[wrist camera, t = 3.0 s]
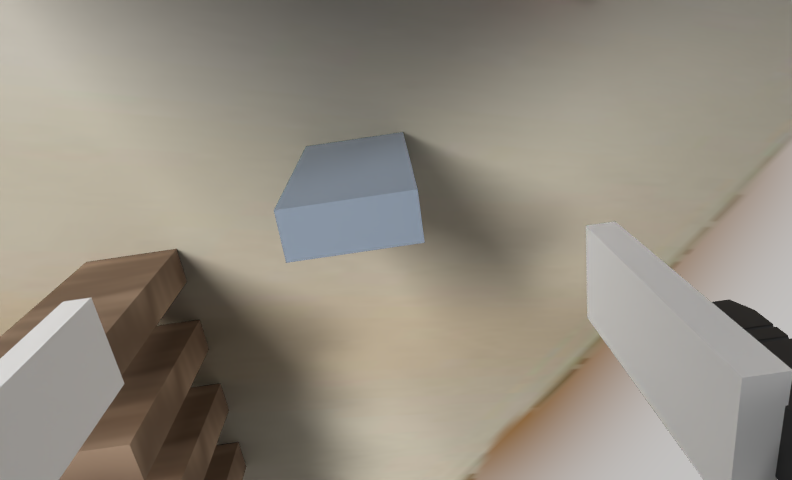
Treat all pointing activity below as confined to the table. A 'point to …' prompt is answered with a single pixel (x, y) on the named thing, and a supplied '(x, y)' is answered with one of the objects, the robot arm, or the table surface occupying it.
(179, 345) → the domino
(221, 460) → the end domino
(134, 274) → the domino
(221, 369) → the table surface
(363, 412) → the table surface
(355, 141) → the domino
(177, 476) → the domino
